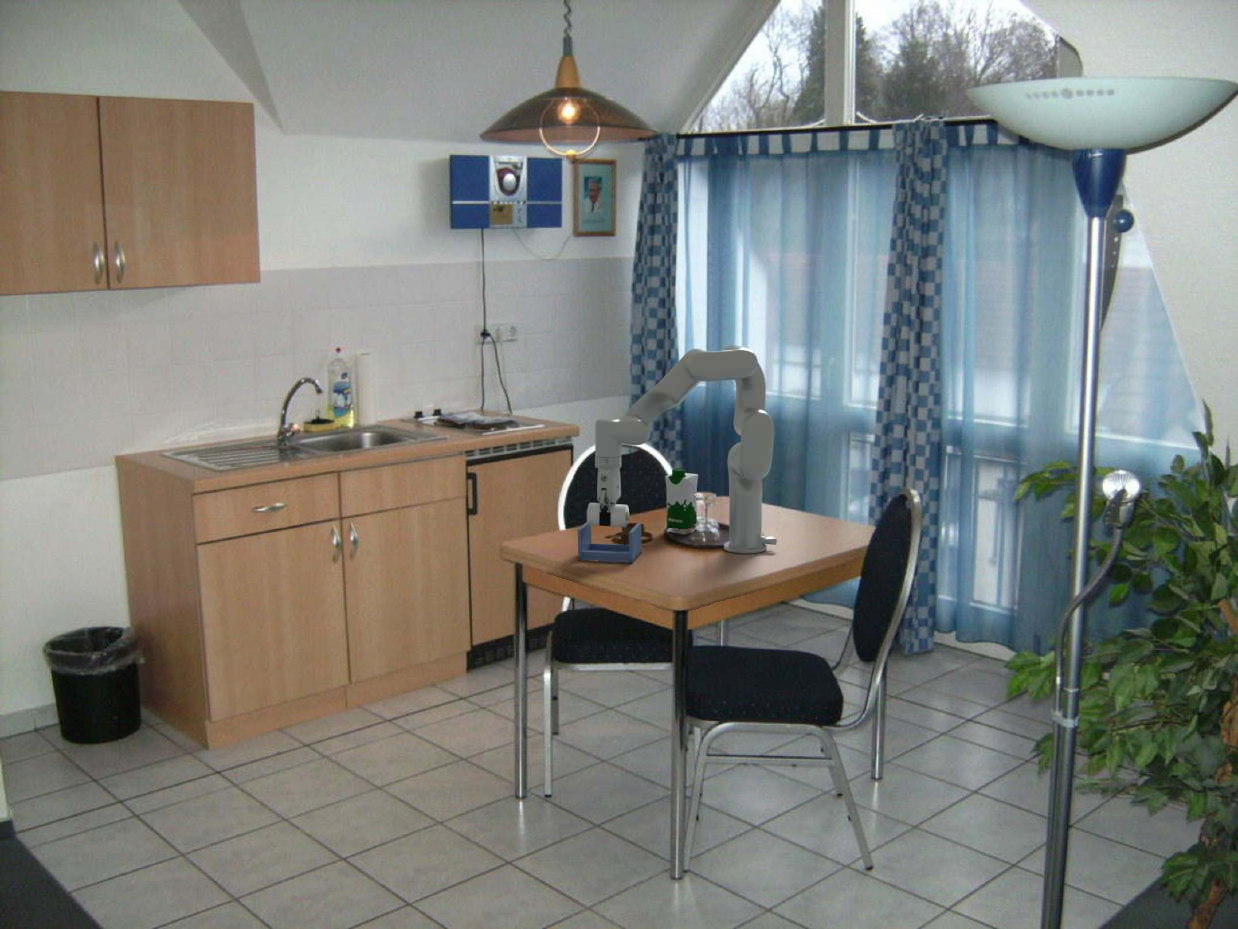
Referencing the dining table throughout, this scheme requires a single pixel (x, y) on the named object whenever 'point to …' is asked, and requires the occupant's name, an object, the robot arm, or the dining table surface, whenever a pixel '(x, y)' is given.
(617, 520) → the roll
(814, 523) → the dining table surface
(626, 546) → the holder
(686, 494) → the milk carton
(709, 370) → the robot arm
